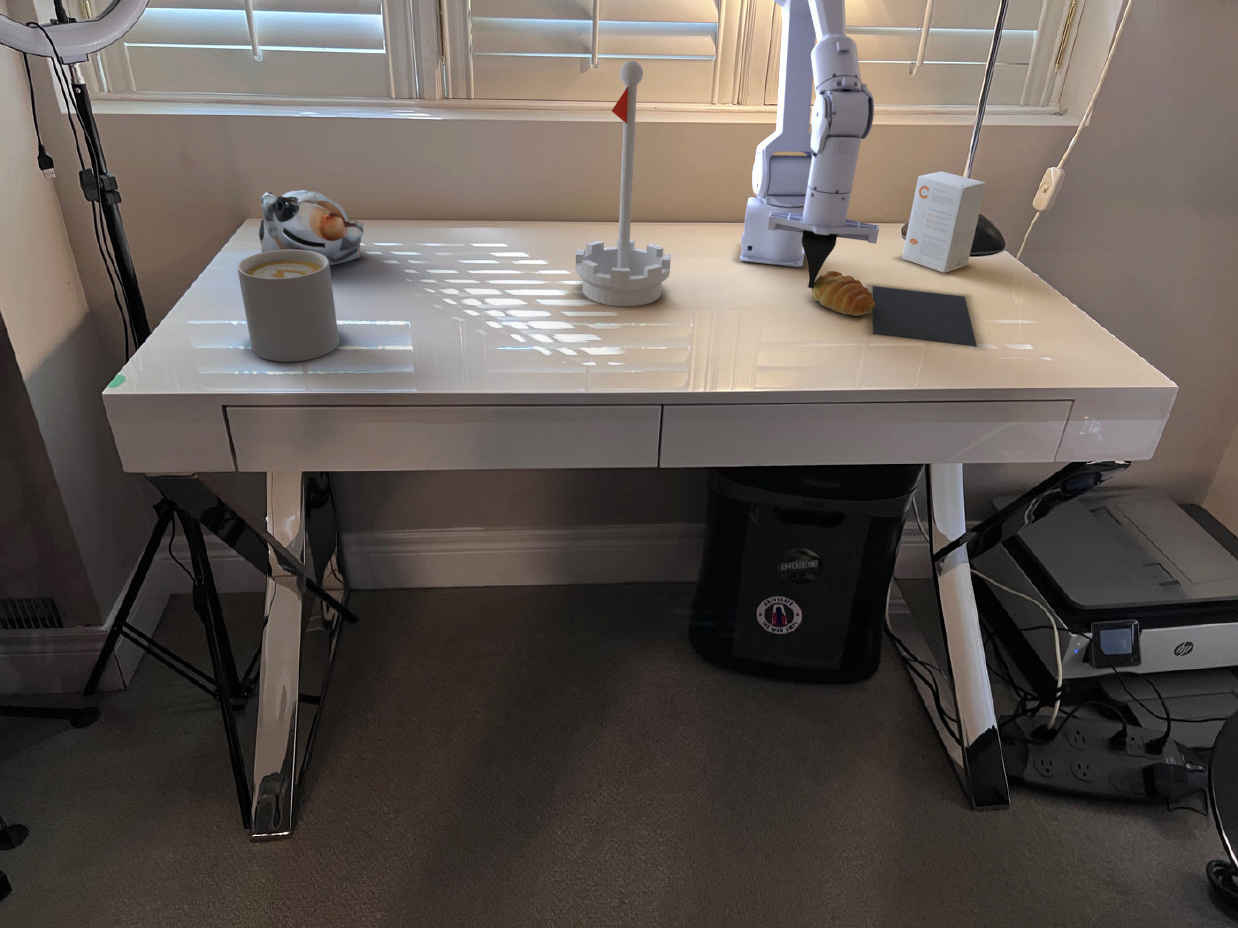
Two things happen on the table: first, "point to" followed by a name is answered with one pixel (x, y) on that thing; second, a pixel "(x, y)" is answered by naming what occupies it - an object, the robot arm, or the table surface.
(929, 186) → the small box
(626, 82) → the flag stand
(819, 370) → the table surface
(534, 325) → the table surface
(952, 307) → the placemat
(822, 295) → the pastry
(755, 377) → the table surface
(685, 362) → the table surface
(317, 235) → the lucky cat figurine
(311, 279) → the coffee mug
